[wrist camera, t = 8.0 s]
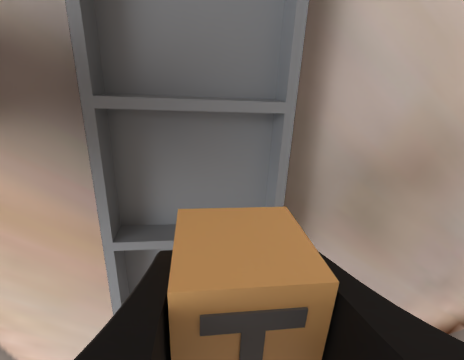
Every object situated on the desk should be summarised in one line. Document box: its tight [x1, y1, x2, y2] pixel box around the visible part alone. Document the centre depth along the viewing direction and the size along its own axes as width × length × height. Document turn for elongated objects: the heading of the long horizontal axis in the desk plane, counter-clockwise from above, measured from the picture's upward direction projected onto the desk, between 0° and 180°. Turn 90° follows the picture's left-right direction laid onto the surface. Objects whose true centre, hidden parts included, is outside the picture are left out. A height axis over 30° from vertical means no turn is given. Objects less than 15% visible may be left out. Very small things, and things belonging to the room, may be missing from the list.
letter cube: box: [167, 207, 339, 360], centre depth 9 cm, size 4×4×4 cm
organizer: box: [65, 0, 309, 316], centre depth 17 cm, size 11×26×2 cm, turn 178°
